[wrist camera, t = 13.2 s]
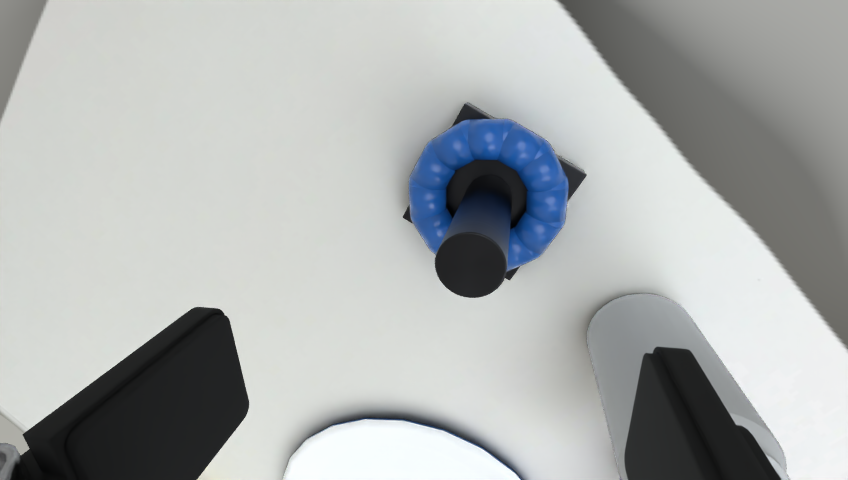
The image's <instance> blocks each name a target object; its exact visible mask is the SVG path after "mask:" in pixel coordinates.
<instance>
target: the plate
mask: <svg viewBox="0 0 848 480" xmlns="http://www.w3.org/2000/svg"><path fill="white" fill-rule="evenodd" d="M283 480H522V479H521V478H520V477H519V475H518V474H517V473H516V472H515V471H514V470H513V469H511V468H510V467H509V466H507V465H506V464H504V463H503V462H502V461H500V460H499V459H498V458H496V457H495V456H494V455H492V454H491V453H490V452H488V451H487V450H486V449H484V448H483V447H481V446H479V445H477V444H475V443H473V442H470V441H468V440H466V439H464V438H462V437H460V436H458V435H456V434H453V433H451V432H449V431H447V430H445V429H441V428H437V427H433V426H429V425H425V424H421V423H417V422H413V421H409V420H405V419H385V418H363V419H358V420H353V421H348V422H343V423H338V424H333V425H331V426H329V427H327V428H326V429H324V430H322V431H320V432H318V433H316V434H314V435H312V436H311V437H309V438H307V439H306V441H305V442H304V443H303V444H302V445H301V446H300V447H299V448H298V450H297V451H296V452H295V453H294V454H293V455H292V456H291V458H290V460H289V463H288V466H287V469H286V471H285V474H284V477H283Z"/></svg>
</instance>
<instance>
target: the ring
mask: <svg viewBox="0 0 848 480" xmlns="http://www.w3.org/2000/svg"><path fill="white" fill-rule="evenodd" d="M474 160H498V161H500V162H501V163H503V164H505V165H506V166H508V167H510V168H511V169H513V170H515V171H517V173H518V175H519V177H520V179H521V180H522V182H523V184H524V186H525V188H526V190H527V199H526V211H525V213H524V214H523V216H522V217H521V218H520V220H519V221H518V223H517V224H516V226H515V227H514V228H512V229H510V236H509V249H508V262H507V272H508V271H510V270H512V269H514V268H517V267H519V266H521V265H523V264H526V263H528V262H530V261H532V260H535V259H537V258H538V257H540V256H541V255H542V254H543V253H544V251H545V250H546V249H547V247H548V246H549V245H550V243H551V242H552V241H553V239H554V238H555V237H556V235H557V234H558V233H559V231H560V230H561V229H562V227H563V225H564V223H565V219H566V210H567V199H568V188H569V182H568V178H567V176H566V174H565V172H564V170H563V168H562V166H561V164H560V162H559V160H558V158H557V156H556V154H555V152H554V150H553V149H552V147H551V145H550V144H549V142H548V141H547V140H545V139H544V138H542V137H540V136H539V135H537V134H535V133H534V132H532V131H530V130H528V129H527V128H525V127H523V126H522V125H520V124H518V123H516V122H515V121H513V120H510V119H468V120H464V121H462V122H460V123H458V124H456V125H455V126H453V127H451V128H450V129H448V130H447V131H445V132H443V133H442V134H440V135H438V136H437V137H435V138H434V139H432V140H431V141H429V142H428V144H427V145H426V147H425V148H424V150H423V152H422V154H421V156H420V158H419V160H418V162H417V163H416V165H415V167H414V169H413V171H412V173H411V175H410V178H409V203H410V217H411V220H412V222H413V224H414V225H415V227H416V229H417V230H418V232H419V233H420V235H421V237H422V238H423V240H424V241H425V243H426V245H427V246H428V248H429V249H430V250H431V251H432V252H433V253H434V254H437V251H438V249H439V247H440V245H441V242H442V240H443V238H444V236H445V234H446V232H447V230H448V228H449V226H450V224H451V222H452V219H453V218H452V216H451V214H450V213H449V211H448V209H447V208H446V188H447V186H448V184H449V182H450V181H451V179H452V177H453V175H454V174H455V172H456V171H457V170H458V169H460V168H462V167H464V166H465V165H467V164H469V163H471V162H472V161H474Z"/></svg>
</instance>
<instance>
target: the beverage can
mask: <svg viewBox="0 0 848 480" xmlns="http://www.w3.org/2000/svg"><path fill="white" fill-rule="evenodd" d="M587 345H588V349H589V353H590V357H591V361H592V365H593V369H594V373H595V377H596V381H597V386H598V390H599V394H600V398H601V402H602V406H603V410H604V414H605V418H606V422H607V426H608V430H609V434H610V438H611V442H612V446H613V450H614V454H615V458H616V462H617V466H618V470H619V474H620V478H621V480H628V478H627V475H626V470H625V463H624V454H625V447H626V442H627V437H628V432H629V426H630V421H631V416H632V411H633V405H634V400H635V395H636V390H637V385H638V379H639V374H640V369H641V364H642V359H643V356H644V354H645V353H653V350H654V349H655V347H657V346H658V347H670V348H682V349H688V350H690V351H691V352H692V353H693V355H694V356H695V358H696V360H697V361H698V363H699V365H700V366H701V368H702V370H703V371H704V373H705V374H706V376H707V378H708V379H709V381H710V383H711V384H712V386H713V388H714V389H715V391H716V392H717V394H718V396H719V397H720V399H721V401H722V402H723V404H724V406H725V407H726V409H727V411H728V412H729V414H730V415H731V417H732V419H733V420H734V422H735V424H736V425H741V426H743V427H745V428H746V429H748V430H749V431H750V433H751V434H752V435H753V436H754V438H755V439H756V441H757V442H758V444H759V446H760V447H761V449H762V450H763V452H764V453H765V455H766V456H767V458H768V460H769V461H770V463H771V464H772V466H773V467H774V469H775V471H776V472H777V474H778V475H779V477H780V478H781V480H790V478H789V476H788V475H787V473H786V469H787V468H786V459H785V455H784V452H783V450H782V448H781V446H780V444H779V443H778V441H777V440H776V438H775V437H774V436H773V434H772V433H771V431H770V430H769V428H768V427H767V426H766V424H765V423H764V421H763V420H762V418H761V417H760V416H759V414H758V413H757V411H756V410H755V408H754V407H753V406H752V404H751V403H750V401H749V400H748V398H747V397H746V396H745V394H744V393H743V391H742V390H741V388H740V387H739V386H738V384H737V383H736V381H735V380H734V378H733V377H732V375H731V374H730V373H729V371H728V370H727V368H726V367H725V365H724V364H723V363H722V361H721V360H720V358H719V357H718V355H717V354H716V353H715V351H714V350H713V348H712V347H711V345H710V344H709V343H708V341H707V340H706V338H705V337H704V335H703V334H702V333H701V331H700V330H699V328H698V327H697V325H696V324H695V323H694V321H693V320H692V318H691V317H690V315H689V314H688V313H687V312H686V310H684V309H683V308H682V307H681V306H680V305H679V304H677V303H676V302H674V301H672V300H670V299H668V298H665V297H663V296H659V295H655V294H646V293H641V294H631V295H626V296H622V297H619V298H617V299H614V300H612V301H611V302H609V303H607V304H606V305H604V306H603V307H602V308H601V309H600V310H599V311H598V312H597V313H596V314H595V315H594V317H593V318H592V320H591V322H590V324H589V327H588V331H587Z"/></svg>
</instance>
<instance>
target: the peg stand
mask: <svg viewBox="0 0 848 480" xmlns="http://www.w3.org/2000/svg"><path fill="white" fill-rule="evenodd" d="M468 119H495V118H494V117H492V116H490V115H488V114H487V113H485V112H483V111H482V110H480V109H478V108H477V107H475V106H473V105H471V104H470V103H468V102H467V103H465V104H464V106H463V107H462V109H461V111H460V113H459V115H458V117H457V118H456V120H455V122H454V124H453V126H455V125H456V124H458V123H460V122H462V121H464V120H468ZM453 126H452V127H453ZM556 156H557V158H558V160H559V162H560V164H561V166H562V168H563V170H564V172H565V174H566V176H567V178H568V182H569V188H568V199H567V202H568V200H569V199H570V197H571V196H572V195H573V193H574V192H575V191H576V189H577V188H578V187H579V185H580V184H581V182H582V181H583V180H584V178H585V177H586V174H585V172H584V171H583V170H582V169H580V168H579V167H577V166H575V165H573V164H572V163H570V162H568V161H567V160H565V159H563V158H562V157H560V156H558V155H556ZM526 199H527V190H526V188H525V186H524V184H523V182H522V180H521V179H520V177H519V175H518V173H517V171H515V170H513V169H511V168H510V167H508V166H506V165H505V164H503V163H501V162H500V161H498V160H474V161H472V162H471V163H469V164H467V165H465V166H464V167H462V168H460V169H458V170H457V171H456V172H455V174H454V175H453V177H452V179H451V181H450V182H449V184H448V186H447V188H446V208H447V209H448V211H449V213H450V214H451V216H452V218H453V219H452V222H451V224H450V226H449V228H448V230H447V232H446V234H445V236H444V238H443V240H442V242H441V245H440V247H439V249H438V251H437V254H436V258H435V268H436V272H437V275H438V277H439V279H440V281H441V282H442V283H443V284H444V286H445V287H446V288H448V289H449V290H450V291H452V292H453V293H455V294H457V295H460V296H463V297H469V298H476V297H482V296H485V295H488V294H490V293H492V292H493V291H495V290H496V289H497V288H498V287H499V286H500V285H501V284H502V282H503V281H504V278H506V279H508V280H510V279H511V278H512V277H513V275H514V274H515V273H516V271H517V270H518V269H519V267H520V266H519V267H517V268H514V269H512V270H510V271H508V272H507V262H508V249H509V236H510V229H512V228H514V227H515V226H516V224H517V223H518V221H519V220H520V218H521V217H522V216H523V214H524V213H525V211H526ZM403 218H404V219H406V220H408V221H409V222H411V223H413V222H412V220H411V217H410V204H409V206H408V208H407V210H406V212H405V214H404V215H403Z"/></svg>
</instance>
